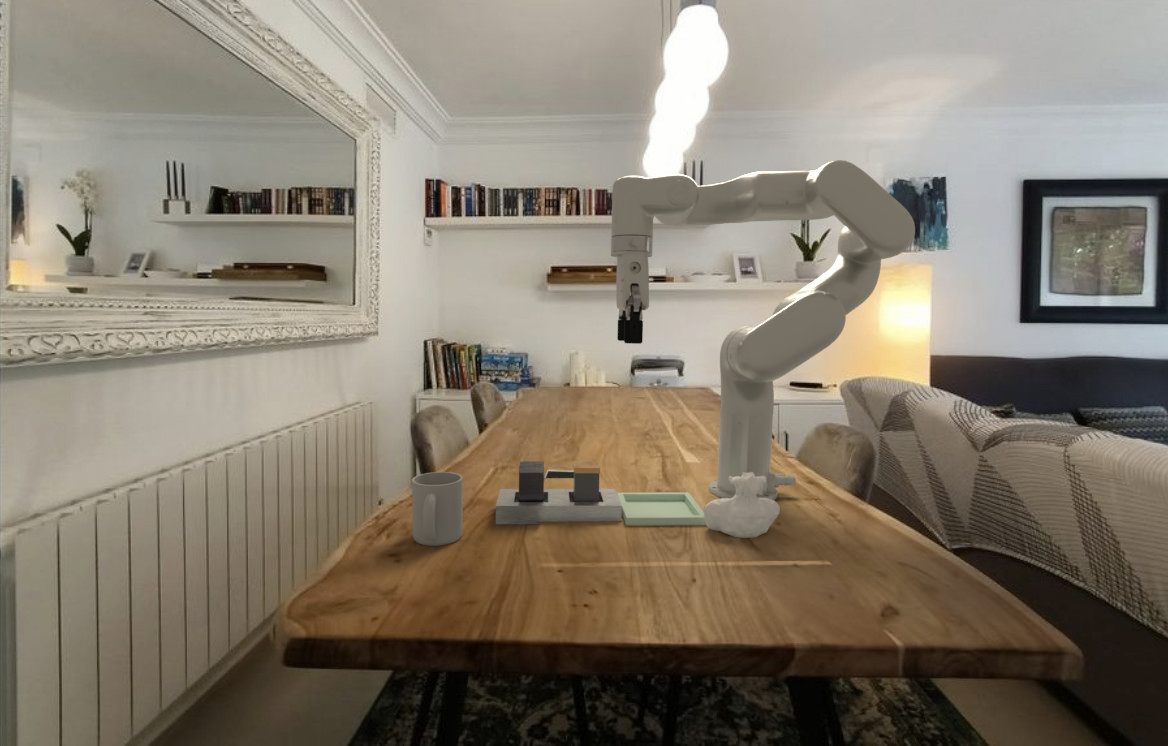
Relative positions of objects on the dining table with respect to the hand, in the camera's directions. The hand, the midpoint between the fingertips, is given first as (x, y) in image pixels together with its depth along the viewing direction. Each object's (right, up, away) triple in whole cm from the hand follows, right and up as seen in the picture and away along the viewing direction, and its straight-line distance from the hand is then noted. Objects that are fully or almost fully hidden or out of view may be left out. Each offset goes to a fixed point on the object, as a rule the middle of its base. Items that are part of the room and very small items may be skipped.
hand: (629, 341), depth 109 cm
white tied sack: (+16, -31, -19) cm, 40 cm away
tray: (+4, -30, -10) cm, 31 cm away
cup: (-30, -31, -23) cm, 49 cm away
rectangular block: (-8, -29, -11) cm, 32 cm away
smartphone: (-13, -28, +8) cm, 32 cm away
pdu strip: (-13, -29, -11) cm, 34 cm away
